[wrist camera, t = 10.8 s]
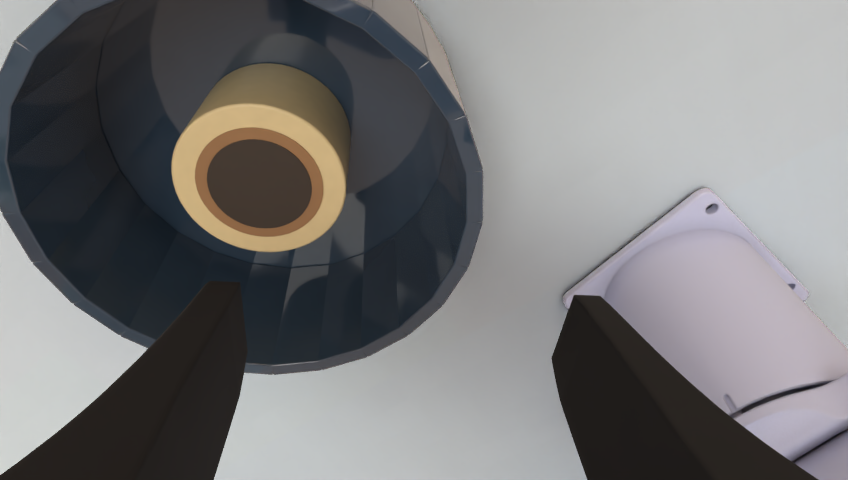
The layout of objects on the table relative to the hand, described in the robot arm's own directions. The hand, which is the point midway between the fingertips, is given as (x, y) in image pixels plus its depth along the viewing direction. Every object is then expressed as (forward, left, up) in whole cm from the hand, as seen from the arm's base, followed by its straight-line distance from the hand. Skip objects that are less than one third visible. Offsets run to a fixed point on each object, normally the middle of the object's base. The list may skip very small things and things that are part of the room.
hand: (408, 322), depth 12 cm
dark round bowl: (+3, +3, -10) cm, 11 cm away
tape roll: (+3, +3, -10) cm, 11 cm away
